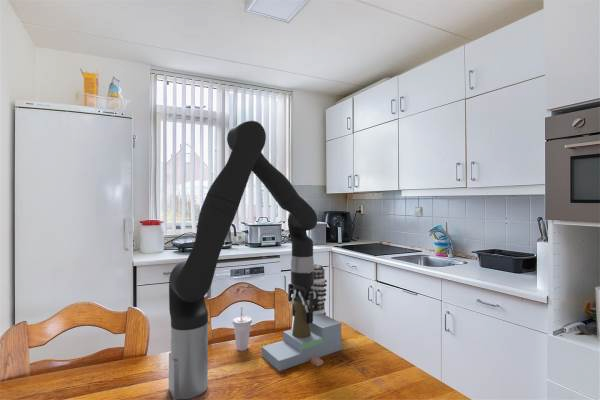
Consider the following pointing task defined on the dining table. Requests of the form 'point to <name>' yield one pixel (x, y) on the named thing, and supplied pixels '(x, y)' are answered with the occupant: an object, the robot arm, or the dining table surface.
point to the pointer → (316, 361)
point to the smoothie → (242, 331)
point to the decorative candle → (319, 288)
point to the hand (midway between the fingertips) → (302, 319)
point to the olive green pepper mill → (300, 321)
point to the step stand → (305, 344)
